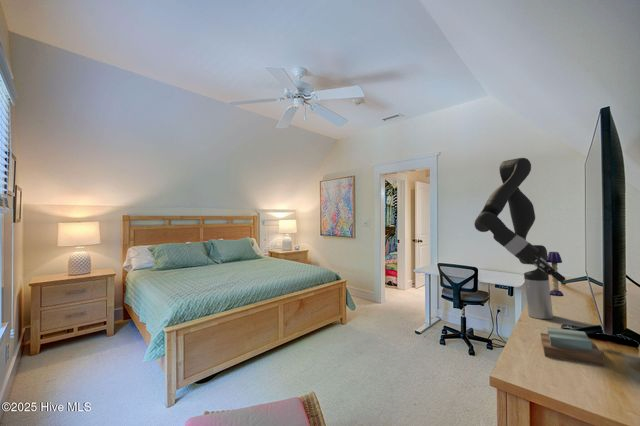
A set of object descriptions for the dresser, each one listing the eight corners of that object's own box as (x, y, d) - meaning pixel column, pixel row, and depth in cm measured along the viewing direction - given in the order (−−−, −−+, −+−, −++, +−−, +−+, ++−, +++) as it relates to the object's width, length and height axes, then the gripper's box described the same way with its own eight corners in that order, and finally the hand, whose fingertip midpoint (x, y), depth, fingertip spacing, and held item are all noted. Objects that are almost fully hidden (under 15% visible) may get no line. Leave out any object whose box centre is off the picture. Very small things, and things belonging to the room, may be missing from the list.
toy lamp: (559, 293, 109) (555, 251, 110) (569, 296, 104) (564, 252, 105) (546, 294, 109) (542, 251, 110) (555, 297, 104) (550, 252, 106)
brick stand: (541, 341, 103) (539, 324, 103) (593, 348, 95) (591, 330, 95) (545, 356, 91) (543, 337, 92) (604, 366, 83) (601, 345, 84)
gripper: (528, 242, 107) (575, 276, 99) (527, 240, 118) (568, 270, 110) (513, 256, 109) (557, 290, 101) (513, 253, 121) (552, 283, 113)
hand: (563, 280), depth 106 cm, fingers closed on toy lamp
